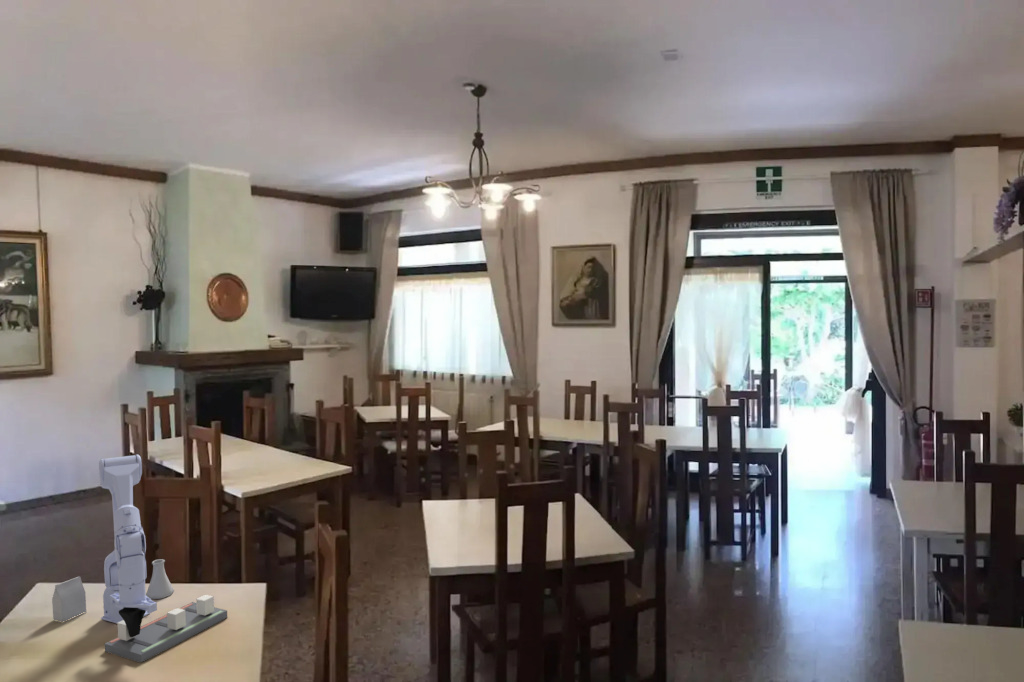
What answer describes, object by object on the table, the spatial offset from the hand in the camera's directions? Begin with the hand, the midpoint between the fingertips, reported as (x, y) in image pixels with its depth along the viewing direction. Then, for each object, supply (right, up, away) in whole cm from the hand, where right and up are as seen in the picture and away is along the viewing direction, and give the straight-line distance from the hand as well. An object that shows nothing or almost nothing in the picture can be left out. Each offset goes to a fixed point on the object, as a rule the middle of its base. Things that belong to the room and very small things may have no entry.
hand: (134, 635), depth 177 cm
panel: (+5, -3, +8) cm, 10 cm away
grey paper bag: (-27, -3, +19) cm, 33 cm away
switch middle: (+7, 0, +7) cm, 10 cm away
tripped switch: (-2, -1, +1) cm, 3 cm away
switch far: (+11, 0, +15) cm, 18 cm away
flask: (-10, -2, +32) cm, 34 cm away
